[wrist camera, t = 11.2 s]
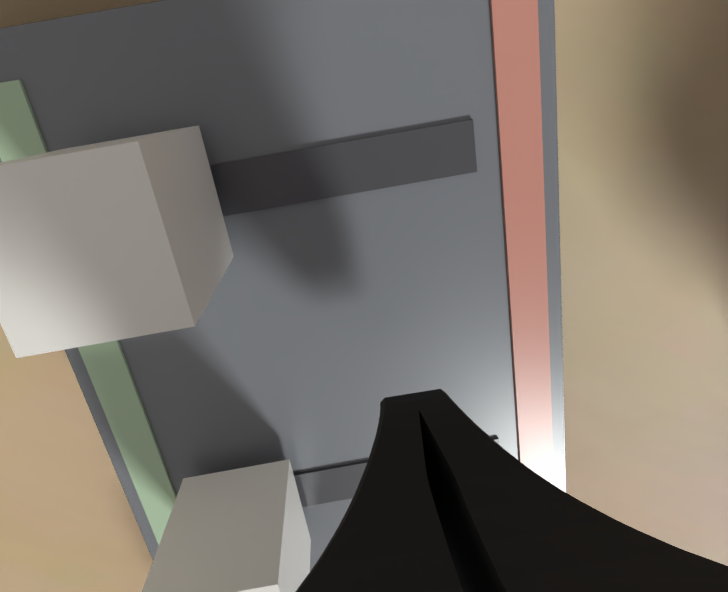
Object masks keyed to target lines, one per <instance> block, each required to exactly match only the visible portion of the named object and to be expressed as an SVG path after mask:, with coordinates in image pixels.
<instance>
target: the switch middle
mask: <svg viewBox="0 0 728 592" xmlns="http://www.w3.org/2000/svg"><path fill="white" fill-rule="evenodd" d="M310 549H311V539H310V535H309V531H308V527H307V523H306V520H305V516H304V512H303V508H302V505H301V501H300V497H299V493H298V489H297V486H296V482H295V478H294V474H293V470H292V467H291V463H290V459H289V460H283V461H277V462H272V463H266V464H261V465H255V466H250V467H244V468H238V469H233V470H227V471H222V472H216V473H211V474H205V475H199V476H194V477H188V478H183V481H182V483H181V486H180V489H179V492H178V494H177V497H176V500H175V503H174V505H173V508H172V511H171V514H170V516H169V519H168V522H167V525H166V527H165V530H164V533H163V536H162V538H161V541H160V544H159V546H158V549H157V552H156V555H155V557H154V560H153V563H152V566H151V568H150V571H149V574H148V577H147V579H146V582H145V585H144V588H143V590H142V592H296V590H297V589H298V587H299V586H300V585H301V583H302V582H303V581H304V579H305V578H306V577H307V575H308V574H309V573H310Z"/></svg>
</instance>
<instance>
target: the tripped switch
mask: <svg viewBox="0 0 728 592" xmlns="http://www.w3.org/2000/svg"><path fill="white" fill-rule="evenodd" d="M233 257H234V256H233V252H232V248H231V244H230V241H229V237H228V233H227V229H226V226H225V222H224V218H223V214H222V210H221V207H220V203H219V199H218V195H217V192H216V188H215V184H214V180H213V177H212V173H211V169H210V165H209V162H208V158H207V154H206V150H205V146H204V143H203V139H202V135H201V131H200V128H199V125H198V126H192V127H186V128H180V129H175V130H169V131H163V132H157V133H152V134H146V135H140V136H135V137H129V138H123V139H117V140H112V141H106V142H100V143H94V144H89V145H83V146H77V147H72V148H66V149H60V150H56V151H51V152H46V153H42V154H37V155H33V156H28V157H23V158H19V159H14V160H9V161H5V162H0V324H1V326H2V328H3V330H4V332H5V334H6V337H7V339H8V341H9V343H10V345H11V347H12V350H13V352H14V354H15V356H16V358H20V357H25V356H31V355H37V354H42V353H48V352H54V351H59V350H65V349H70V348H76V347H82V346H87V345H93V344H99V343H104V342H110V341H116V340H121V339H127V338H133V337H138V336H144V335H149V334H155V333H161V332H166V331H172V330H178V329H183V328H189V327H195V326H196V324H197V322H198V320H199V319H200V317H201V315H202V313H203V311H204V309H205V308H206V306H207V304H208V302H209V300H210V299H211V297H212V295H213V293H214V291H215V290H216V288H217V286H218V284H219V282H220V280H221V279H222V277H223V275H224V273H225V271H226V270H227V268H228V266H229V264H230V262H231V260H232V259H233Z"/></svg>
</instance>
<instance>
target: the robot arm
mask: <svg viewBox="0 0 728 592" xmlns="http://www.w3.org/2000/svg"><path fill="white" fill-rule="evenodd" d="M296 592H728V566H726V565H723V564H720V563H717V562H715V561H712V560H709V559H706V558H704V557H701V556H698V555H695V554H693V553H690V552H687V551H684V550H682V549H679V548H677V547H675V546H672V545H670V544H668V543H665V542H663V541H661V540H658V539H656V538H654V537H652V536H649V535H647V534H645V533H642V532H640V531H638V530H636V529H634V528H631V527H629V526H627V525H625V524H623V523H621V522H619V521H617V520H615V519H613V518H611V517H609V516H607V515H605V514H603V513H601V512H600V511H598V510H596V509H594V508H592V507H590V506H588V505H586V504H585V503H583V502H581V501H579V500H577V499H576V498H574V497H572V496H571V495H569V494H567V493H565V492H564V491H562V490H561V489H559V488H557V487H556V486H554V485H553V484H551V483H550V482H548V481H547V480H545V479H543V478H542V477H541V476H539V475H538V474H536V473H535V472H533V471H532V470H531V469H529V468H528V467H527V466H525V465H524V464H523V463H521V462H520V461H519V460H518V459H516V458H515V457H514V456H512V455H511V454H510V453H509V452H507V451H506V450H505V449H504V448H503V447H501V446H500V445H499V444H498V443H497V442H495V441H494V440H493V439H492V438H491V437H490V436H489V435H488V434H486V433H485V432H484V431H483V430H482V429H481V428H480V427H479V426H478V425H476V424H475V423H474V422H473V421H472V420H471V419H470V418H469V417H468V416H467V415H466V414H465V413H464V412H463V411H462V410H461V409H460V408H459V407H458V406H457V405H456V403H455V402H454V401H453V400H452V399H451V398H450V397H449V396H448V395H447V393H446V392H444V391H443V390H442V389H435V390H429V391H423V392H417V393H410V394H404V395H398V396H392V397H385V398H384V399H383V400H382V401H381V402H380V417H379V423H378V427H377V432H376V436H375V439H374V443H373V446H372V449H371V453H370V456H369V459H368V462H367V465H366V467H365V470H364V472H363V475H362V477H361V480H360V483H359V485H358V488H357V490H356V492H355V494H354V497H353V499H352V501H351V503H350V505H349V507H348V509H347V511H346V513H345V515H344V517H343V519H342V521H341V523H340V525H339V526H338V528H337V530H336V532H335V533H334V535H333V537H332V538H331V540H330V542H329V543H328V545H327V547H326V548H325V550H324V552H323V553H322V555H321V556H320V558H319V559H318V561H317V563H316V564H315V565H314V567H313V568H312V570H311V571H310V573H309V574H308V575H307V577H306V578H305V579H304V581H303V582H302V583H301V585H300V586H299V587H298V589H297V590H296Z"/></svg>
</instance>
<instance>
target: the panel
mask: <svg viewBox="0 0 728 592" xmlns="http://www.w3.org/2000/svg"><path fill="white" fill-rule="evenodd" d="M198 125H199V128H200V131H201V135H202V139H203V143H204V146H205V150H206V154H207V158H208V162H209V165H210V169H211V173H212V177H213V180H214V184H215V188H216V192H217V195H218V199H219V203H220V207H221V210H222V214H223V218H224V222H225V226H226V229H227V233H228V237H229V241H230V244H231V248H232V252H233V256H234V257H233V259H232V260H231V262H230V264H229V266H228V268H227V270H226V271H225V273H224V275H223V277H222V279H221V280H220V282H219V284H218V286H217V288H216V290H215V291H214V293H213V295H212V297H211V299H210V300H209V302H208V304H207V306H206V308H205V309H204V311H203V313H202V315H201V317H200V319H199V320H198V322H197V324H196V326H195V327H189V328H183V329H178V330H172V331H166V332H161V333H155V334H149V335H144V336H138V337H133V338H127V339H121V340H116V341H110V342H104V343H99V344H93V345H87V346H82V347H76V348H70V349H65V352H66V354H67V356H68V359H69V361H70V364H71V366H72V368H73V371H74V373H75V376H76V378H77V380H78V383H79V385H80V387H81V390H82V392H83V395H84V397H85V399H86V402H87V404H88V406H89V409H90V411H91V414H92V416H93V418H94V421H95V423H96V426H97V428H98V430H99V433H100V435H101V437H102V440H103V442H104V445H105V447H106V449H107V452H108V454H109V456H110V459H111V461H112V464H113V466H114V468H115V471H116V473H117V476H118V478H119V480H120V483H121V485H122V487H123V490H124V492H125V495H126V497H127V499H128V502H129V504H130V507H131V509H132V511H133V514H134V516H135V518H136V521H137V523H138V526H139V528H140V530H141V533H142V535H143V537H144V540H145V542H146V545H147V547H148V549H149V552H150V554H151V557H152V559H153V560H154V557H155V555H156V552H157V549H158V546H159V544H160V541H161V538H162V536H163V533H164V530H165V527H166V525H167V522H168V519H169V516H170V514H171V511H172V508H173V505H174V503H175V500H176V497H177V494H178V492H179V489H180V486H181V483H182V481H183V478H188V477H194V476H199V475H205V474H211V473H216V472H222V471H227V470H233V469H238V468H244V467H250V466H255V465H261V464H266V463H272V462H277V461H283V460H289V459H290V463H291V467H292V470H293V474H294V478H295V482H296V486H297V489H298V493H299V497H300V501H301V505H302V508H303V512H304V516H305V520H306V523H307V527H308V531H309V535H310V539H311V549H310V571H311V570H312V568H313V567H314V565H315V564H316V563H317V561H318V559H319V558H320V556H321V555H322V553H323V552H324V550H325V548H326V547H327V545H328V543H329V542H330V540H331V538H332V537H333V535H334V533H335V532H336V530H337V528H338V526H339V525H340V523H341V521H342V519H343V517H344V515H345V513H346V511H347V509H348V507H349V505H350V503H351V501H352V499H353V497H354V494H355V492H356V490H357V488H358V485H359V483H360V480H361V477H362V475H363V472H364V470H365V467H366V465H367V462H368V459H369V456H370V453H371V449H372V446H373V443H374V439H375V436H376V432H377V427H378V423H379V417H380V402H381V401H382V400H383V399H384V398H385V397H392V396H398V395H404V394H410V393H417V392H423V391H429V390H435V389H442V390H443V391H444V392H446V393H447V395H448V396H449V397H450V398H451V399H452V400H453V401H454V402H455V403H456V405H457V406H458V407H459V408H460V409H461V410H462V411H463V412H464V413H465V414H466V415H467V416H468V417H469V418H470V419H471V420H472V421H473V422H474V423H475V424H476V425H478V426H479V427H480V428H481V429H482V430H483V431H484V432H485V433H486V434H488V435H489V436H490V437H491V438H492V439H493V440H494V441H495V442H497V443H498V444H499V445H500V446H501V447H503V448H504V449H505V450H506V451H507V452H509V453H510V454H511V455H512V456H514V457H515V458H516V459H518V460H519V461H520V462H521V463H523V464H524V465H525V466H527V467H528V468H529V469H531V470H532V471H533V472H535V473H536V474H538V475H539V476H541V477H542V478H543V479H545V480H547V481H548V482H550V483H551V484H553V485H554V486H556V487H557V488H559V489H561V490H562V491H564V492H565V493H566V472H565V430H564V389H563V347H562V305H561V264H560V222H559V181H558V139H557V97H556V56H555V14H554V0H162V1H156V2H150V3H145V4H139V5H133V6H127V7H122V8H116V9H110V10H104V11H98V12H93V13H87V14H81V15H75V16H69V17H64V18H58V19H52V20H46V21H41V22H35V23H29V24H23V25H17V26H12V27H6V28H0V162H5V161H9V160H14V159H19V158H23V157H28V156H33V155H37V154H42V153H46V152H51V151H56V150H60V149H66V148H72V147H77V146H83V145H89V144H94V143H100V142H106V141H112V140H117V139H123V138H129V137H135V136H140V135H146V134H152V133H157V132H163V131H169V130H175V129H180V128H186V127H192V126H198Z"/></svg>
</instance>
